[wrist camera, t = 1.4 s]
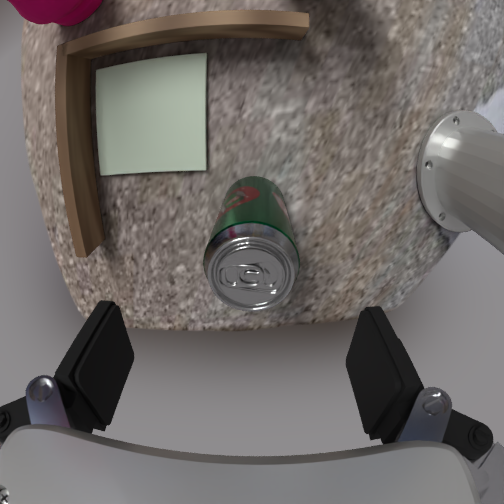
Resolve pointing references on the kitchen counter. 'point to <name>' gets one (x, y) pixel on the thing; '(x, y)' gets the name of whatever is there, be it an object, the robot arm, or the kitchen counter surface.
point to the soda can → (252, 247)
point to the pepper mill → (56, 10)
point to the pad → (152, 115)
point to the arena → (79, 102)
